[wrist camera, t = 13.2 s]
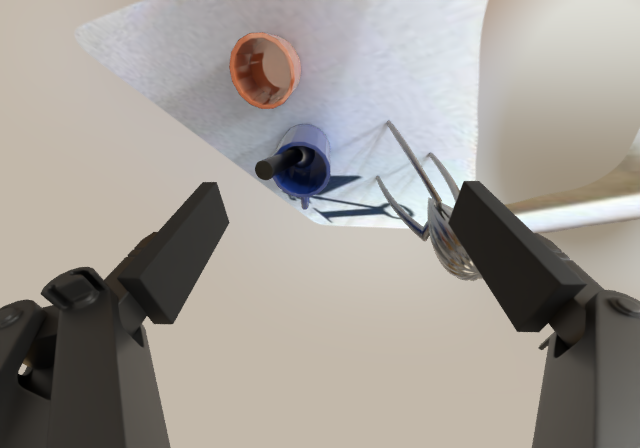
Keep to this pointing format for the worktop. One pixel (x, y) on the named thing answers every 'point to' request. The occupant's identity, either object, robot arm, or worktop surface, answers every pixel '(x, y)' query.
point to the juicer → (435, 218)
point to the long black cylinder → (285, 161)
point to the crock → (264, 69)
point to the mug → (310, 177)
